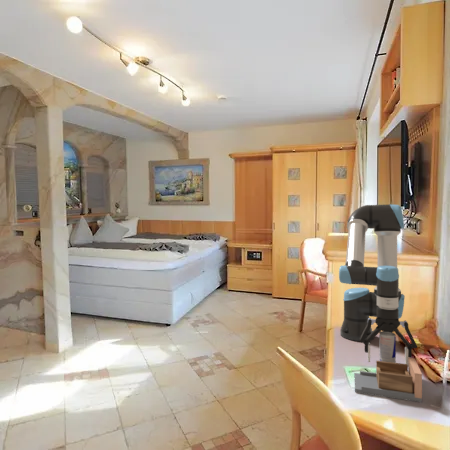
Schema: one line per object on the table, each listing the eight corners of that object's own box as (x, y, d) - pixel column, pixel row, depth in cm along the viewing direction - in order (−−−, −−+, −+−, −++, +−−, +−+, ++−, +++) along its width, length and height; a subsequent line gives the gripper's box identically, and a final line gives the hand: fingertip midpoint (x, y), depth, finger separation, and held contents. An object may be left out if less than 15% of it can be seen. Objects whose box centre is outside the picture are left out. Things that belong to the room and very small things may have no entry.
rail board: (354, 376, 127) (354, 351, 127) (414, 384, 120) (414, 358, 120) (355, 392, 116) (355, 365, 115) (421, 402, 109) (421, 374, 109)
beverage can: (397, 376, 126) (397, 336, 126) (381, 375, 128) (381, 335, 127) (393, 369, 132) (393, 331, 131) (377, 368, 133) (377, 330, 132)
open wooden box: (376, 376, 124) (376, 360, 123) (407, 380, 120) (407, 364, 120) (378, 390, 114) (378, 372, 114) (412, 395, 111) (412, 377, 111)
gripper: (353, 307, 129) (353, 362, 130) (426, 312, 121) (426, 371, 122) (352, 302, 136) (353, 355, 137) (422, 306, 128) (421, 362, 129)
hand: (387, 363), depth 130 cm, fingers open, 12 cm apart
